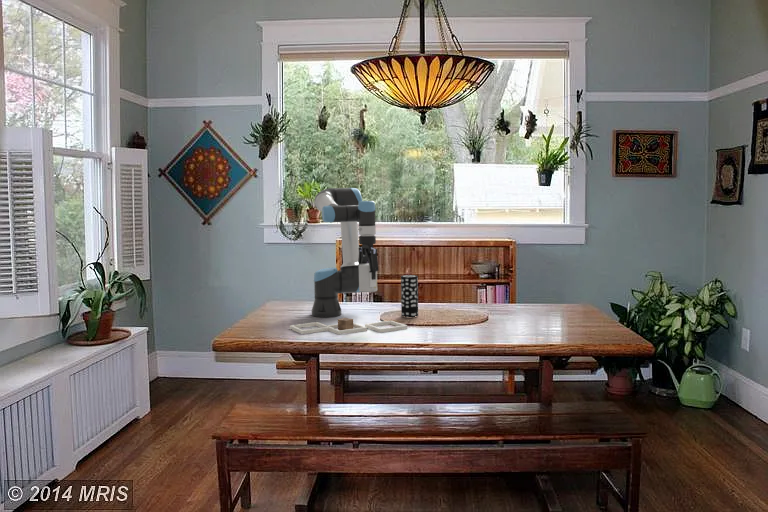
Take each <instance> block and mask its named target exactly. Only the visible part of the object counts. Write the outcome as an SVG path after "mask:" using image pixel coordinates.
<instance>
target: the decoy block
mask: <svg viewBox="0 0 768 512" xmlns="http://www.w3.org/2000/svg"><path fill="white" fill-rule="evenodd" d="M353 323H354V318H350V317H343V318H339V319H337V324H338V328H337V330H347V329H355V327H354V324H353Z"/></svg>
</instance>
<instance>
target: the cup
mask: <svg viewBox="0 0 768 512" xmlns="http://www.w3.org/2000/svg"><path fill="white" fill-rule="evenodd" d="M369 271H370V265H369V262H367V263H366V264H359V291H360V292H359V293H371V292H373V293H374V292H377V291H378V271H377V272H376V287H370V272H369Z"/></svg>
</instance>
